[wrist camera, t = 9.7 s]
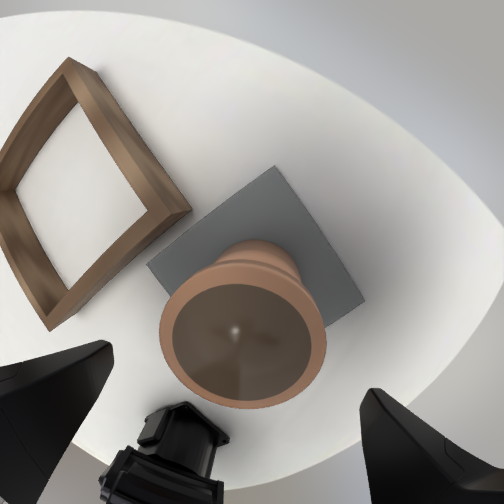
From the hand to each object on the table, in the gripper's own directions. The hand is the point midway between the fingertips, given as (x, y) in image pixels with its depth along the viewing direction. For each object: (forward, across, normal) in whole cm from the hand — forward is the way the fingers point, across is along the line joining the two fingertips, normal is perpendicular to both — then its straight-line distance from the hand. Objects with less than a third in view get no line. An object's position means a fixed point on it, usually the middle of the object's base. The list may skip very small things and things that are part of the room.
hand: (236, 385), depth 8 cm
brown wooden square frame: (+11, +16, -4) cm, 20 cm away
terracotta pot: (+10, 0, 0) cm, 10 cm away
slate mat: (+11, 0, 0) cm, 11 cm away
